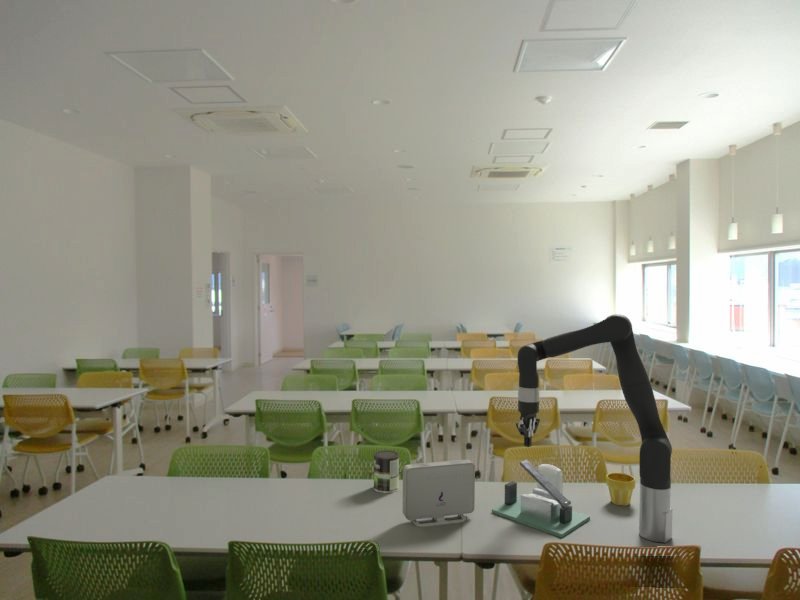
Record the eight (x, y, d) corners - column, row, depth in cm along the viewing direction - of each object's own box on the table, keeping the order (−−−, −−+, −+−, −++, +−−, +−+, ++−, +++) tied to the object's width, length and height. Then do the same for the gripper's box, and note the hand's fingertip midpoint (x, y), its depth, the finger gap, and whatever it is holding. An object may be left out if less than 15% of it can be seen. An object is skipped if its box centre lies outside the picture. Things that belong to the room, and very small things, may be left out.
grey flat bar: (569, 505, 194) (571, 502, 194) (563, 508, 191) (565, 506, 191) (525, 461, 207) (527, 458, 206) (518, 464, 204) (520, 461, 203)
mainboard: (589, 519, 198) (590, 516, 197) (561, 537, 183) (561, 534, 183) (521, 497, 217) (521, 494, 217) (491, 512, 203) (491, 509, 203)
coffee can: (377, 494, 220) (377, 459, 219) (370, 485, 230) (370, 451, 229) (402, 491, 223) (402, 456, 222) (394, 482, 233) (394, 449, 232)
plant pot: (607, 506, 209) (607, 480, 209) (604, 495, 219) (604, 471, 219) (637, 509, 207) (637, 483, 207) (632, 498, 217) (632, 473, 217)
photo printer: (535, 493, 221) (535, 463, 221) (542, 491, 224) (542, 460, 224) (557, 501, 213) (558, 469, 213) (564, 499, 216) (564, 467, 216)
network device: (407, 528, 190) (407, 470, 189) (400, 518, 198) (400, 462, 197) (476, 520, 196) (477, 464, 196) (467, 510, 205) (467, 456, 204)
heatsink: (575, 517, 196) (575, 497, 196) (561, 526, 189) (561, 505, 189) (515, 498, 213) (515, 479, 213) (500, 505, 206) (500, 486, 206)
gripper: (527, 403, 195) (526, 452, 196) (547, 398, 205) (546, 444, 205) (509, 400, 201) (508, 447, 201) (529, 395, 210) (528, 440, 211)
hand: (527, 446), depth 203 cm, fingers closed
